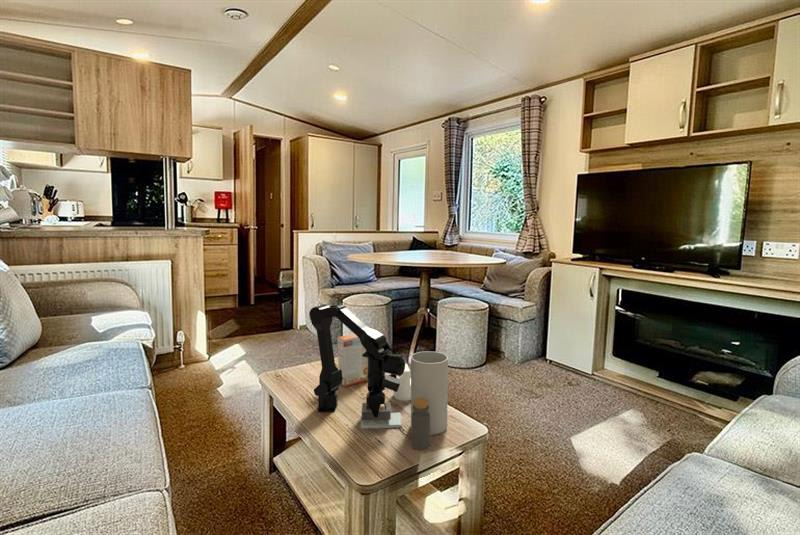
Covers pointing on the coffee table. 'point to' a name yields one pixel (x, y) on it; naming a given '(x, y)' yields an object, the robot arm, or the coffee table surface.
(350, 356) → the cracker box
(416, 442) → the bottle
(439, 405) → the cylinder vase
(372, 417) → the link
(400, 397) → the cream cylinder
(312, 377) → the coffee table surface
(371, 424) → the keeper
